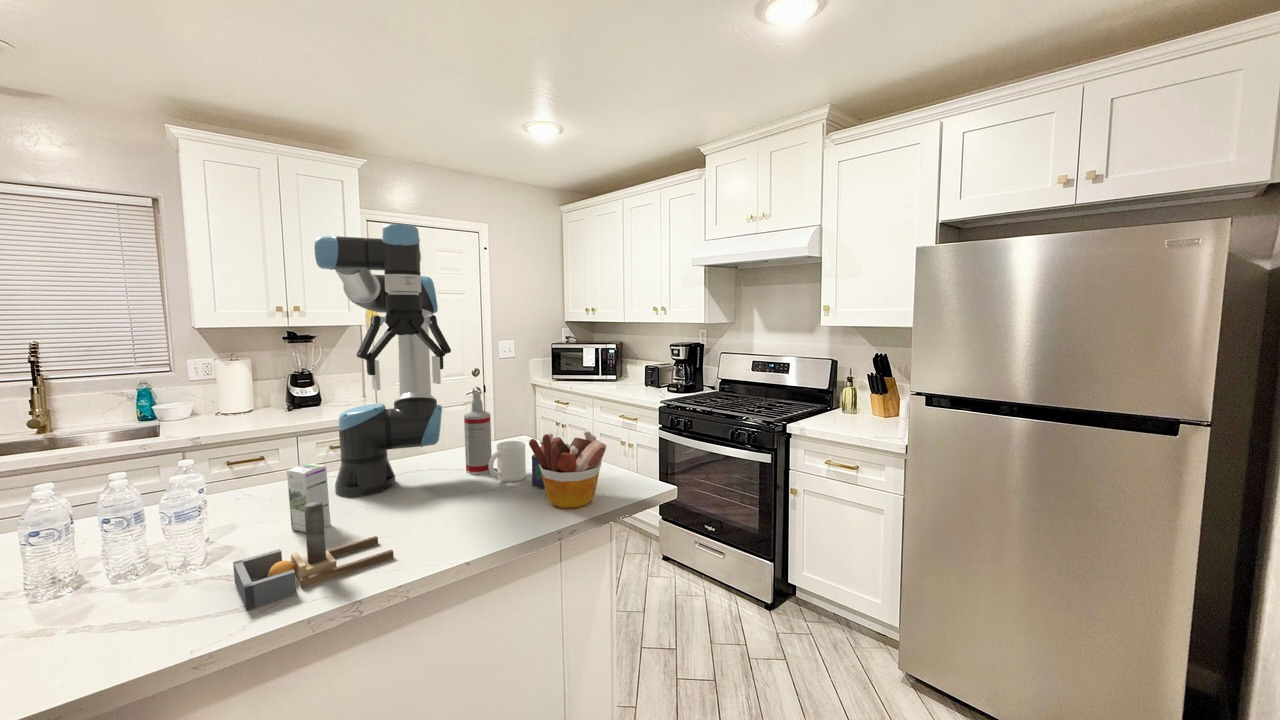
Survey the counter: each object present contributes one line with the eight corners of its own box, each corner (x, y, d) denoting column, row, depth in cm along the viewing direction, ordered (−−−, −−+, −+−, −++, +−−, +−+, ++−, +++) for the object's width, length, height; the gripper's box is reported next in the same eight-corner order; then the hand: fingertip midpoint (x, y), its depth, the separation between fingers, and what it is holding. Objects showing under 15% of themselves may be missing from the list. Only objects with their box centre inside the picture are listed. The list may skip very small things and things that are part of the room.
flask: (561, 488, 144) (560, 451, 143) (554, 491, 142) (553, 454, 141) (535, 483, 149) (534, 447, 148) (529, 486, 146) (528, 449, 145)
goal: (234, 582, 94) (233, 562, 94) (281, 568, 100) (280, 549, 99) (246, 610, 86) (244, 587, 85) (296, 593, 91) (295, 571, 90)
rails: (289, 569, 99) (288, 561, 99) (376, 542, 111) (376, 535, 111) (301, 588, 92) (301, 580, 92) (393, 558, 104) (393, 551, 104)
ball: (282, 553, 96) (297, 566, 98) (261, 570, 94) (276, 583, 96) (287, 560, 93) (302, 574, 95) (265, 578, 91) (281, 591, 93)
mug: (497, 487, 145) (496, 452, 144) (481, 481, 151) (480, 447, 150) (531, 477, 154) (530, 443, 153) (515, 471, 160) (514, 439, 159)
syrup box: (331, 524, 120) (328, 464, 119) (308, 534, 115) (304, 472, 113) (314, 521, 122) (310, 462, 121) (290, 531, 117) (285, 469, 115)
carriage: (292, 569, 99) (287, 504, 97) (327, 559, 103) (323, 496, 101) (300, 583, 94) (296, 515, 92) (337, 571, 98) (333, 506, 97)
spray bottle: (461, 474, 157) (458, 394, 154) (473, 466, 164) (470, 390, 162) (485, 475, 156) (482, 394, 153) (496, 468, 163) (493, 390, 160)
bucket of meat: (572, 485, 147) (571, 417, 145) (617, 497, 138) (617, 424, 136) (519, 507, 131) (517, 431, 129) (566, 522, 121) (564, 440, 119)
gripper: (348, 292, 105) (353, 394, 107) (463, 294, 122) (466, 382, 124) (337, 293, 110) (342, 390, 112) (449, 295, 128) (452, 379, 130)
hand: (407, 386), depth 118 cm, fingers open, 13 cm apart
